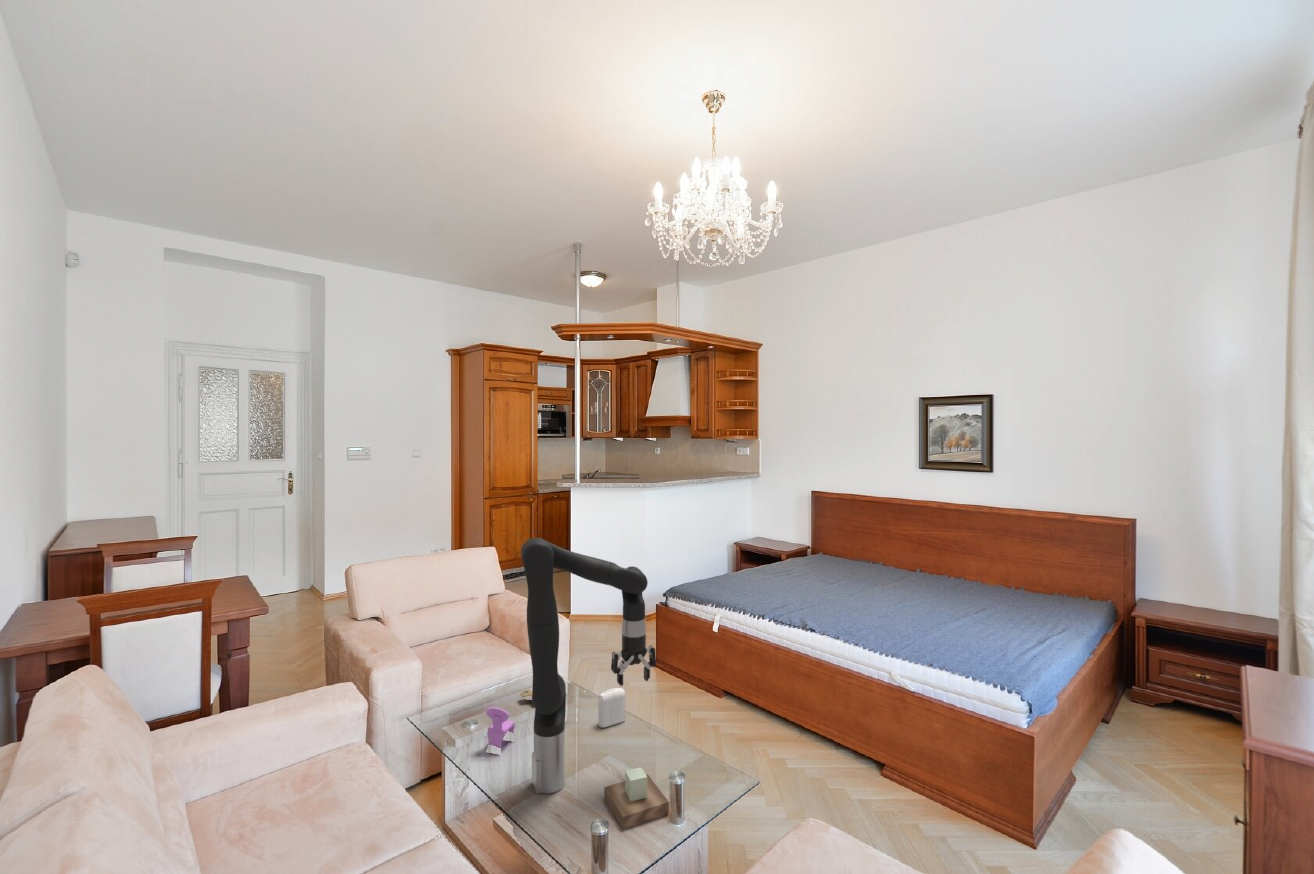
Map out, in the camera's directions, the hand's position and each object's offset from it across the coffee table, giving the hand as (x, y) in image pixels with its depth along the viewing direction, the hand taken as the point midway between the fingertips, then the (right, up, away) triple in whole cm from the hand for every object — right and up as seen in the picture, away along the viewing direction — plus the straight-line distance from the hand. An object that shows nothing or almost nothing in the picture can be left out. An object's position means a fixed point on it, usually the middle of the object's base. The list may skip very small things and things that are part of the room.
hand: (633, 682), depth 186 cm
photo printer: (-9, -27, +29) cm, 40 cm away
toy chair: (-45, -27, +13) cm, 54 cm away
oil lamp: (-38, -26, +43) cm, 63 cm away
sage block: (+1, -25, -16) cm, 30 cm away
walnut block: (+1, -29, -16) cm, 34 cm away
